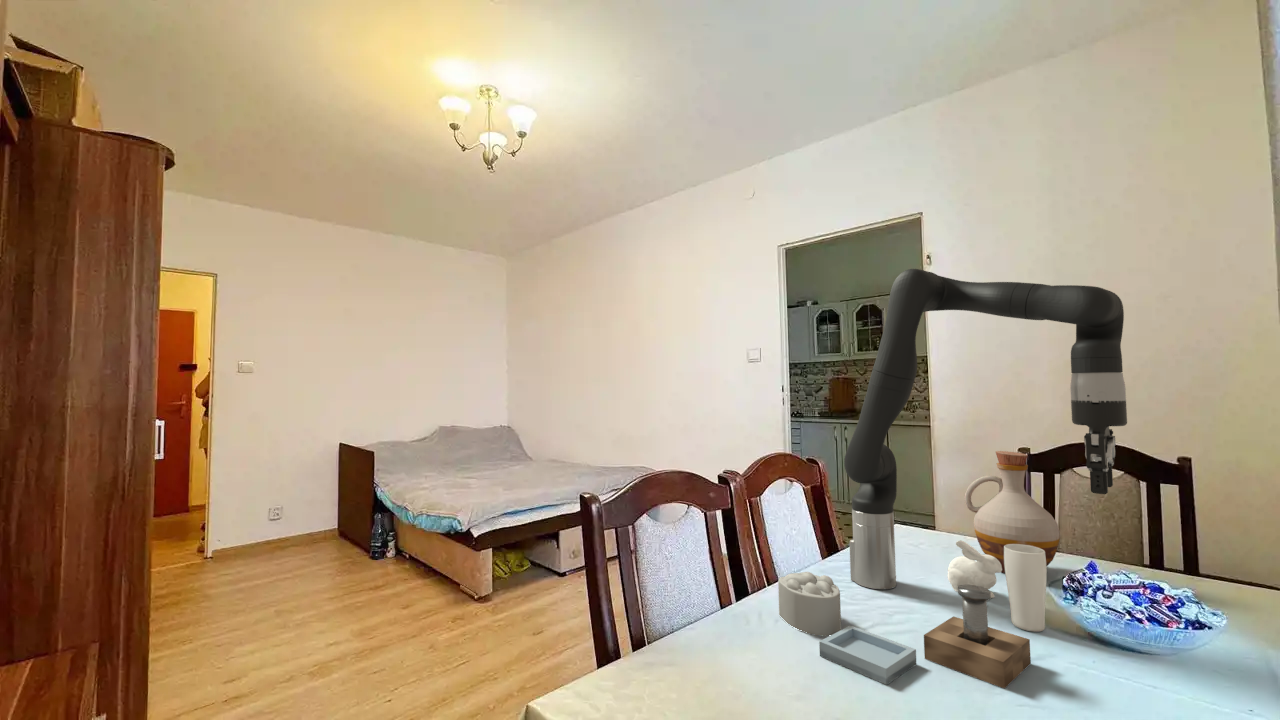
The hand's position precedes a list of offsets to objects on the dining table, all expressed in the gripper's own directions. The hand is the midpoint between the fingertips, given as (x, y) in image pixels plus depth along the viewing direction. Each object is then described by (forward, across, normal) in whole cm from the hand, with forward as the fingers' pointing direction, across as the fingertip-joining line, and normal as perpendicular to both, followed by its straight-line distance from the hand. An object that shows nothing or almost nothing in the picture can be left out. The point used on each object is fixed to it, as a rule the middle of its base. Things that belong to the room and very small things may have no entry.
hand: (1102, 490), depth 95 cm
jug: (+29, -38, -22) cm, 52 cm away
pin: (+28, +19, -16) cm, 38 cm away
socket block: (+28, +19, -16) cm, 38 cm away
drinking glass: (+28, -2, -12) cm, 31 cm away
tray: (+28, +32, -29) cm, 52 cm away
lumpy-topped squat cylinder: (+29, +24, -43) cm, 57 cm away
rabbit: (+29, -14, -24) cm, 40 cm away
